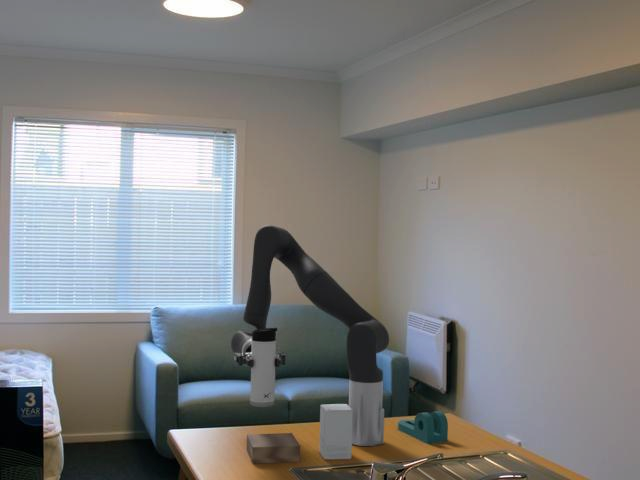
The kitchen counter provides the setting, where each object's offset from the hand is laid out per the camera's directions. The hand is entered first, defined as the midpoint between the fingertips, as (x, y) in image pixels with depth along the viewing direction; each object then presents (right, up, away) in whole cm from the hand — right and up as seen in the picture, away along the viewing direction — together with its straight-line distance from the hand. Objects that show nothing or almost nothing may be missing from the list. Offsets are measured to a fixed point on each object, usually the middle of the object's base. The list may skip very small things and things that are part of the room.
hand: (264, 363), depth 193 cm
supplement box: (+18, -24, +2) cm, 30 cm away
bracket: (+43, -25, +25) cm, 55 cm away
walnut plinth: (+2, -24, +1) cm, 24 cm away
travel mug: (-1, -11, +2) cm, 11 cm away
